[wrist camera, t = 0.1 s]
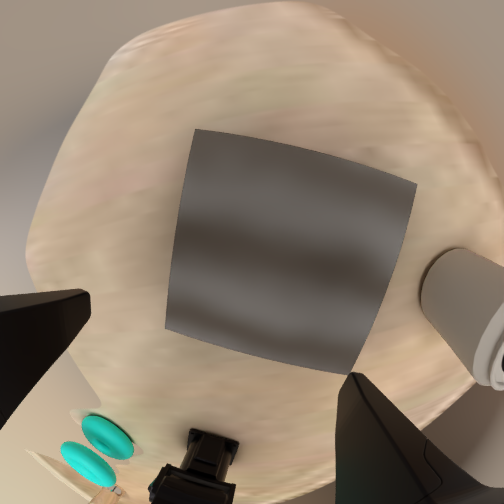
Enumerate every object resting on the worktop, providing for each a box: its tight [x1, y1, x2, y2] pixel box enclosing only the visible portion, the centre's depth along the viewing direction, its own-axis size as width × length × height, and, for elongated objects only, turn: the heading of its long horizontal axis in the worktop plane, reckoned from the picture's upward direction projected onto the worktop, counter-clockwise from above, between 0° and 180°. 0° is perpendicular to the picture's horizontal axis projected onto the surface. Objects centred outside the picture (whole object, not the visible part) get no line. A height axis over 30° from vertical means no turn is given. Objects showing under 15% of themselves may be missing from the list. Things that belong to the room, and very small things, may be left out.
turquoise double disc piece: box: [61, 416, 134, 487], centre depth 29 cm, size 10×10×10 cm
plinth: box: [165, 129, 417, 375], centre depth 20 cm, size 16×16×3 cm
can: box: [421, 248, 504, 391], centre depth 14 cm, size 8×8×12 cm
